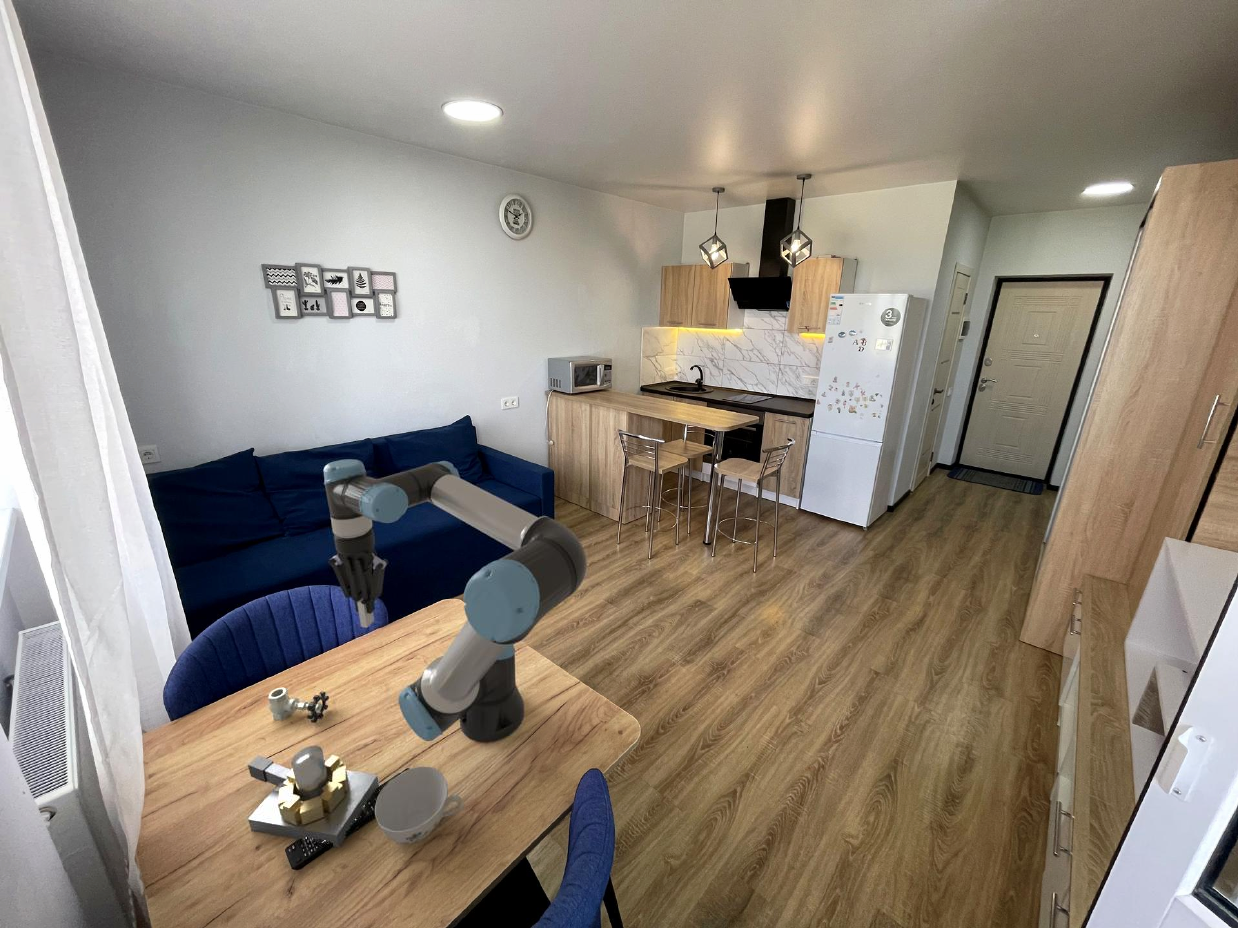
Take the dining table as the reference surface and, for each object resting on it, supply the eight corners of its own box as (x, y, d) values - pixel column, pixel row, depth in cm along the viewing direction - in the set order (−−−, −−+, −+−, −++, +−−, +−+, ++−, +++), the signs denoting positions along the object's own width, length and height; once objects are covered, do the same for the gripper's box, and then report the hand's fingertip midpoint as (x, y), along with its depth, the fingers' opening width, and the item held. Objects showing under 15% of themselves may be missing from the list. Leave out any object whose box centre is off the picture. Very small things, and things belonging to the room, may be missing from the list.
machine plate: (379, 786, 100) (371, 737, 96) (339, 846, 89) (328, 794, 85) (300, 772, 102) (289, 724, 98) (251, 830, 91) (236, 778, 87)
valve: (264, 725, 113) (313, 729, 113) (258, 702, 111) (308, 706, 111) (284, 703, 120) (331, 707, 119) (279, 681, 118) (327, 685, 117)
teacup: (369, 866, 86) (363, 833, 83) (392, 798, 98) (387, 768, 95) (457, 856, 88) (453, 825, 85) (468, 791, 99) (466, 761, 97)
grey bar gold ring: (281, 749, 104) (277, 735, 102) (360, 778, 98) (357, 763, 97) (228, 796, 94) (223, 780, 92) (312, 832, 88) (309, 816, 87)
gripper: (391, 526, 107) (403, 616, 114) (337, 521, 109) (352, 610, 116) (370, 541, 100) (384, 637, 107) (313, 535, 102) (330, 630, 109)
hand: (367, 623), depth 112 cm, fingers closed
